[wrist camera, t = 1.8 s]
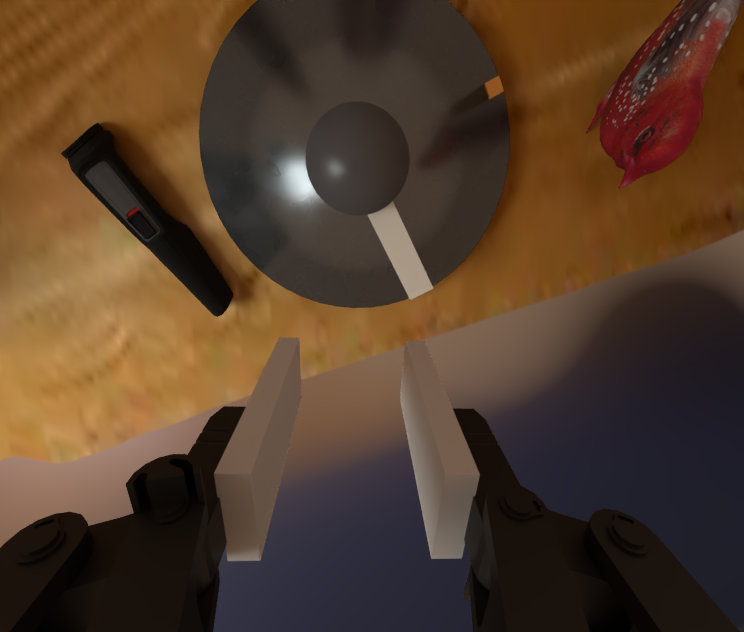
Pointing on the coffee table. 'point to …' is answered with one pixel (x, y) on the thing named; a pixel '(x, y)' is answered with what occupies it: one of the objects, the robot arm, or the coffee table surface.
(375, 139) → the dial
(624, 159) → the decorative bird figurine
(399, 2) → the dial plate
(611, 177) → the coffee table surface
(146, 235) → the electric trimmer
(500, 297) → the coffee table surface
